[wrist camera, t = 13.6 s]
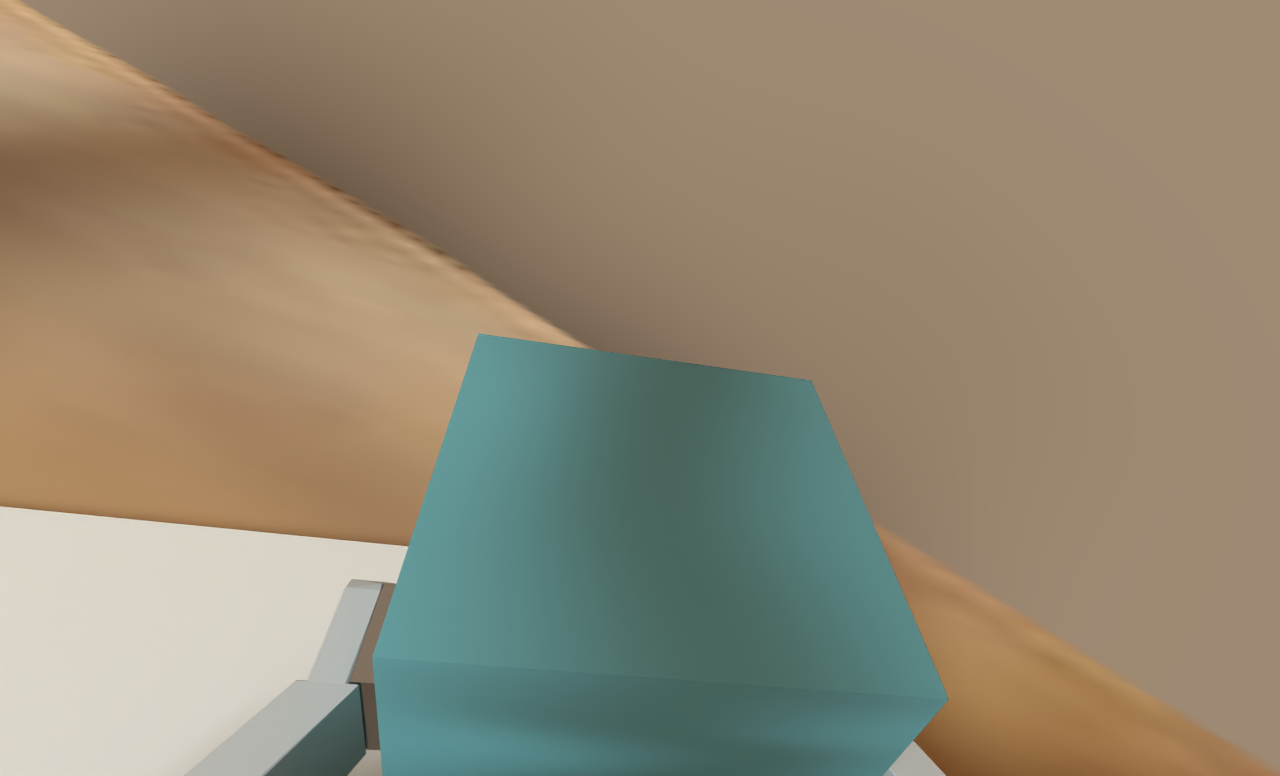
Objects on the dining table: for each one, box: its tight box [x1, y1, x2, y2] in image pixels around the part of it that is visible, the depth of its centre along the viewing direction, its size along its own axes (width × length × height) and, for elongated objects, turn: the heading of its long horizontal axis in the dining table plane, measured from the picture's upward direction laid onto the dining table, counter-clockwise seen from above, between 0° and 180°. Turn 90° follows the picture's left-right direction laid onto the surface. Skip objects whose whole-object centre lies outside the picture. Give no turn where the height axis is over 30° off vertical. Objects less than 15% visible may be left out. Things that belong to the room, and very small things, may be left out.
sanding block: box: [372, 334, 949, 776], centre depth 10 cm, size 5×5×9 cm
